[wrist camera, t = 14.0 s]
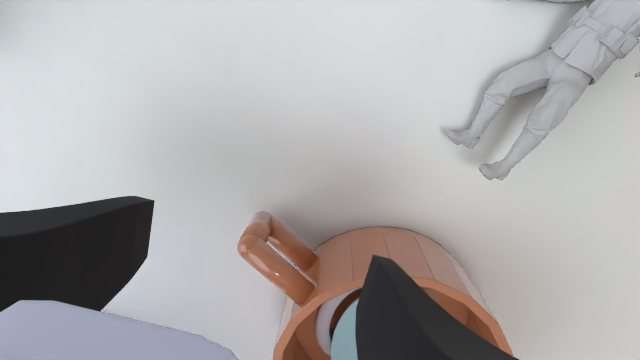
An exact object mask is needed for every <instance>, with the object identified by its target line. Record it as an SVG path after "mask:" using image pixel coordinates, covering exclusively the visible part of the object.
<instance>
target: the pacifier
mask: <svg viewBox="0 0 640 360" xmlns="http://www.w3.org/2000/svg"><path fill="white" fill-rule="evenodd" d="M360 288H362V287H360ZM360 288H355V289H353V290H351V291H348V292H346V293H344V294H342V295H339V296H337V297H335V298H332V299H330V300H328V301H326V302H323V303H322V304H321V307H320V309H319V311H318V314H317V319H316V323H315V333H316V338H317V341H318V344H319V345H320V347H321V348H322V350H323V351H324V352H325V353H326V354H328V355H329V356H331V360H358V358H357V348H356V338H355V321H356V307H357V303H358V300H359V297H358V298H357V299H355V300H354V301H353V302H352V303H351V304H350V305H349V306H348V307H347V308H346V310H345V311H344V312H343V314H342V316H341V317H340V319H339V321H338V323H337V325H336V328H335V331H334V335H333V337H332V335H331V332H330V322H331V318H332V316H333V313H334V311H335V309H336V308H337V306H338V305H339V304H340V302H341V301H342V300H343V299H344V298H345V297H346V296H347V295H349V294H350V293H352V292H353V291H355V290H357V289H360Z"/></svg>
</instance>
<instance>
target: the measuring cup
mask: <svg viewBox="0 0 640 360" xmlns="http://www.w3.org/2000/svg"><path fill="white" fill-rule="evenodd" d="M267 241H268V242H269V243H270V244H271V245H272V246H273V247H275V248H276V249H277V250H278V251H279V252H280V253H281V254H283V255H284V256H285V257H286V258H287V259H288V260H289V261H291V262H292V263H293V264H294V265H295V266H296V267H297V268H299V269H298V270H297V269H295V268H294V267H293V266H292V265H291V264H290V263H289V262H287V261H286V260H285V259H284V258H283V257H282V256H280V255H279V254H278V253H277V252H276V251H275V250H274V249H272V248H271V247H270V246H269V245H268V244H267V243H266V242H267ZM237 250H238V253H239V255H240V256H241V257H242V258H243V259H245V260H246V261H247V262H248V263H249V264H250V265H252V266H253V267H254V268H255V269H256V270H257V271H259V272H260V273H261V274H262V275H263V276H264V277H266V278H267V279H268V280H269V281H270V282H271V283H273V284H274V285H275V286H276V287H277V288H278V289H280V290H281V291H282V292H283V293H284V294H285V295H287V296H286V301H285V305H284V309H283V314H282V318H281V322H280V327H279V331H278V335H277V340H276V344H275V348H274V355H273V360H331V356H329V355H328V354H326V353H325V352H324V351H323V350H322V348H321V347H320V345H319V344H318V341H317V338H316V333H315V323H316V319H317V314H318V311H319V309H320V307H321V304H322V303H323V302H326V301H328V300H330V299H332V298H335V297H337V296H339V295H342V294H344V293H346V292H348V291H351V290H353V289H355V288H360V287H362V288H363V284H364V281H365V278H366V275H367V272H368V268H369V265H370V262H371V259H372V256H373V255H377V256H381V257H385V258H390V259H392V260H393V261H395V262H396V263H397V264H398V265H399V266H400V267H401V268H402V269H403V270H404V271H405V272H406V273H407V274H408V275H409V276H410V277H411V278H412V279H413V280H414V281H415V282H416V283H417V284H418V285H419V286H420V287H421V288H422V289H423V290H424V291H425V292H426V293H427V294H428V295H429V296H430V297H431V298H432V299H433V300H434V301H435V302H437V303H438V304H439V305H440V306H441V307H442V308H443V309H444V310H446V311H447V312H448V313H449V314H450V315H452V316H453V317H454V318H456V319H457V320H458V321H460V322H461V323H462V324H464V325H465V326H466V327H468V328H469V329H470V330H472V331H473V332H475V333H476V334H477V335H479V336H480V337H482V338H483V339H485V340H487V341H488V342H490V343H491V344H493V345H495V346H496V347H498V348H499V349H501V350H503V351H504V352H506V353H508V354H510V355H511V356H512V351H511V349H510V346H509V344H508V342H507V340H506V338H505V336H504V334H503V332H502V330H501V328H500V326H499V323H498V322H497V320H496V319H495V317H494V315H493V314H492V312H491V311H490V309H489V308H488V306H487V304H486V303H485V301H484V300H483V298H482V297H481V295H480V294H479V292H478V290H477V289H476V287H475V286H474V284H473V283H472V281H471V279H470V278H469V276H468V275H467V273H466V272H465V270H464V269H463V267H462V266H461V265H460V264H459V263H458V262H457V261H456V259H455V258H454V257H453V256H452V255H451V254H450V253H449V252H448V251H447V250H445V249H444V248H443V247H442V246H441V245H439V244H438V243H436V242H434V241H433V240H431V239H429V238H427V237H425V236H423V235H421V234H419V233H415V232H412V231H409V230H405V229H400V228H394V227H367V228H362V229H356V230H353V231H349V232H346V233H343V234H341V235H339V236H336V237H334V238H332V239H330V240H329V241H327V242H325V243H324V244H322V245H321V246H319V247H318V248H317V249H316V250H315V251H312V250H310V249H309V248H308V247H307V246H306V245H305V244H304V243H303V242H301V241H300V240H299V239H298V238H297V237H296V236H295V235H294V234H293V233H291V232H290V231H289V230H288V229H287V228H286V227H285V226H284V225H282V224H281V223H280V222H279V221H278V220H277V219H276V218H275V217H273V216H272V215H271V214H270V213H269V212H266V211H260V212H258V213H256V214H255V215H254V216H253V218H252V220H251V221H250V223H249V225H248V226H247V228H246V230H245V231H244V233H243V235H242V236H241V238H240V240H239V242H238V245H237ZM362 288H360V289H357V290H355V291H353V292H352V293H350V294H349V295H347V296H346V297H345V298H344V299H343V300H342V301H341V302H340V304H339V305H338V306H337V308H336V309H335V311H334V313H333V316H332V318H331V322H330V332H331V335H332V337H333V335H334V331H335V328H336V325H337V323H338V321H339V319H340V317H341V316H342V314H343V312H344V311H345V310H346V308H347V307H348V306H349V305H350V304H351V303H352V302H353V301H354V300H355V299H357V298H358V297H360V294H361V291H362Z"/></svg>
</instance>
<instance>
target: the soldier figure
mask: <svg viewBox="0 0 640 360" xmlns="http://www.w3.org/2000/svg"><path fill="white" fill-rule="evenodd" d="M507 1H510V0H507ZM546 1H552V2H562V3H566V2H570V3H574V2H578V1H585V0H546ZM569 23H570V24H571V25H570V26H568V27H567V28H566V31H564V32H563V33H562V34H561V35H560V37H559V38H558V39H557V40H555V41H554V42H553V43H552V44H551V46H550V47H549V50H548V51H546V52H545V53H543V54H541V55H538V56H536V57H534V58H532V59H529V60H526V61H523V62H520V63H519V64H517V65H515V66H513V67H511V68H510V69H508V70H506V71H504V72H502V73H501V74H499V75H498V76H497V77H496V78H495V79H494V81H493V84H492V85H490V86H489V87H488V89H487V90H486V91H484V98H483V101H482V103H481V106H480V109H479V111H478V113H477V115H476V117H475V118H474V120H473V122H472V125H471V127H470V129H469V130H467V129H466V130H463V131H454V130H449V131H448V132H446V134H447V136H448V137H449V139H450V140H451V141H452V142H453V143H455V144H457V145H459V144H460V143H463V144H464V145H465V146H466V147H468V148H471V149H473V148H474V146H475V145H476V144H477V143H478V141H479V139H480V137H479V136H480V135H481V134H482V133H483V132H484V130H485V129H486V127H487V126H488V124H489V123H490V122H491V120H492V119H493V118H494V116H495V115H496V114H497V113H498V112H499V110H500V109H501V108H502V106H504V103H505V101H506V100H508V99H510V96H517V95H519V94H524V93H528V92H530V91H532V90H534V89H536V88H542V87H547V88H546V91H545V94H544V96H543V98H542V99H541V100H540V101H539V102H538V103H537V104H536V106H535V107H534V108H533V110H532V111H531V113H530V114H529V116H528V118H527V125H525V126H524V129H523V132H522V133H521V134H520V136H519V137H518V139H517V140H516V142H515V143H514V144H513V146H512V148H511V150H510V151H509V153H508V154H507V156H506V157H505V158H504V159H503V160H501V161H499V162H495V163H493V164H484V165H481V167H479V170H480V171H481V173H482V174H483V175H484V176H485V177H486V178H487V179H489V180H492V179H493V178H495V177H496V178H497V179H499V180H503V179H504V178H505V177H506V176H507V175H508V173H509V172H510V170H511V168H513V167H514V166H515V165H516V164H517V163H519V162H520V161H521V160H522V159H523V158H524V157H525V156H526V155H527V154H528V153H529V152H530V151H532V150H533V149H534V148H535V147H536V146H538V145H539V143H540V142H541V141H542V140H543V139H544V138H545V137H546V135H547V134H548V133H549V132H550V131H551V130H552V129H553V128H555V127H556V126H557V125H559V124H560V123H561V122H562V121H563V120H564V118H565V117H566V115H567V112H568V110H569V109H570V108H571V107H572V106H573V105H574V103H575V102H576V101H577V100H578V98H579V97H580V96H581V95H582V93H583V91H584V90H585V88H586V87H587V85H591V84H594V83H595V82H597V81H598V80H599V78H600V77H601V76H602V74H603V73H604V72H605V71H606V70H607V69H608V68H609V66H610V65H611V63H612V62H613V61H615V59H616V58H619V59H621V58H624V57H625V56H626V55H627V54H628V53H629V52H630V51H631V50H632V49H633V48H634V47H635V46H636V45H637V44H638V43H639V40H638V39H637V38H638V37H639V36H640V0H595V1H594V2H593V3H592V4H591V5H590V6H589V7H588V8H587V7H586V6H584V7H583V8H582V9H580V10H579V11H578V12H577V13H576V14H575V15H574V16H573V17H572V18H571V19H570V20H569ZM637 76H640V72H639V73H637V74H635V76H634V77H637Z"/></svg>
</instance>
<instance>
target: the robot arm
mask: <svg viewBox="0 0 640 360" xmlns="http://www.w3.org/2000/svg"><path fill="white" fill-rule="evenodd" d="M153 208H154V200H150V199H145V198H141V197H137V196H126V197H118V198H111V199H105V200H99V201H93V202H87V203H81V204H75V205H68V206H61V207H54V208H47V209H40V210H31V211H20V212H6V213H0V360H238V359H237V357H236V356H235V355H234V354H233V352H232V351H231V350H229V349H227V348H225V347H223V346H221V345H219V344H216V343H214V342H212V341H210V340H208V339H206V338H204V337H202V336H200V335H196V334H192V333H187V332H183V331H179V330H175V329H171V328H166V327H162V326H158V325H154V324H150V323H146V322H141V321H137V320H133V319H129V318H125V317H120V316H116V315H112V314H108V313H104V312H100V311H101V310H102V309H103V308H104V307H105V306H106V305H107V304H108V303H109V302H110V301H111V300H112V299H113V298H114V297H115V296H116V295H117V294H118V293H119V292H120V291H121V290H122V289H123V287H124V286H125V285H126V284H127V283H128V282H129V281H130V280H131V279H132V277H133V276H134V275H135V273H136V272H137V271H138V269H139V268H140V267H141V265H142V264H143V262H144V261H145V260H146V258H147V254H148V247H149V239H150V231H151V224H152V216H153ZM355 338H356V348H357V358H358V360H519V359H517V358H515V357H513V356H511V355H510V354H508V353H506V352H504V351H503V350H501V349H499V348H498V347H496V346H495V345H493V344H491V343H490V342H488V341H487V340H485V339H483V338H482V337H480V336H479V335H477V334H476V333H475V332H473V331H472V330H470V329H469V328H468V327H466V326H465V325H464V324H462V323H461V322H460V321H458V320H457V319H456V318H454V317H453V316H452V315H450V314H449V313H448V312H447V311H446V310H444V309H443V308H442V307H441V306H440V305H439V304H438V303H437V302H435V301H434V300H433V299H432V298H431V297H430V296H429V295H428V294H427V293H426V292H425V291H424V290H423V289H422V288H421V287H420V286H419V285H418V284H417V283H416V282H415V281H414V280H413V279H412V278H411V277H410V276H409V275H408V274H407V273H406V272H405V271H404V270H403V269H402V268H401V267H400V266H399V265H398V264H397V263H396V262H395V261H393V260H392V259H390V258H385V257H381V256H377V255H373V256H372V259H371V262H370V265H369V268H368V272H367V275H366V278H365V281H364V284H363V288H362V291H361V294H360V297H359V300H358V303H357V307H356V321H355Z"/></svg>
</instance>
